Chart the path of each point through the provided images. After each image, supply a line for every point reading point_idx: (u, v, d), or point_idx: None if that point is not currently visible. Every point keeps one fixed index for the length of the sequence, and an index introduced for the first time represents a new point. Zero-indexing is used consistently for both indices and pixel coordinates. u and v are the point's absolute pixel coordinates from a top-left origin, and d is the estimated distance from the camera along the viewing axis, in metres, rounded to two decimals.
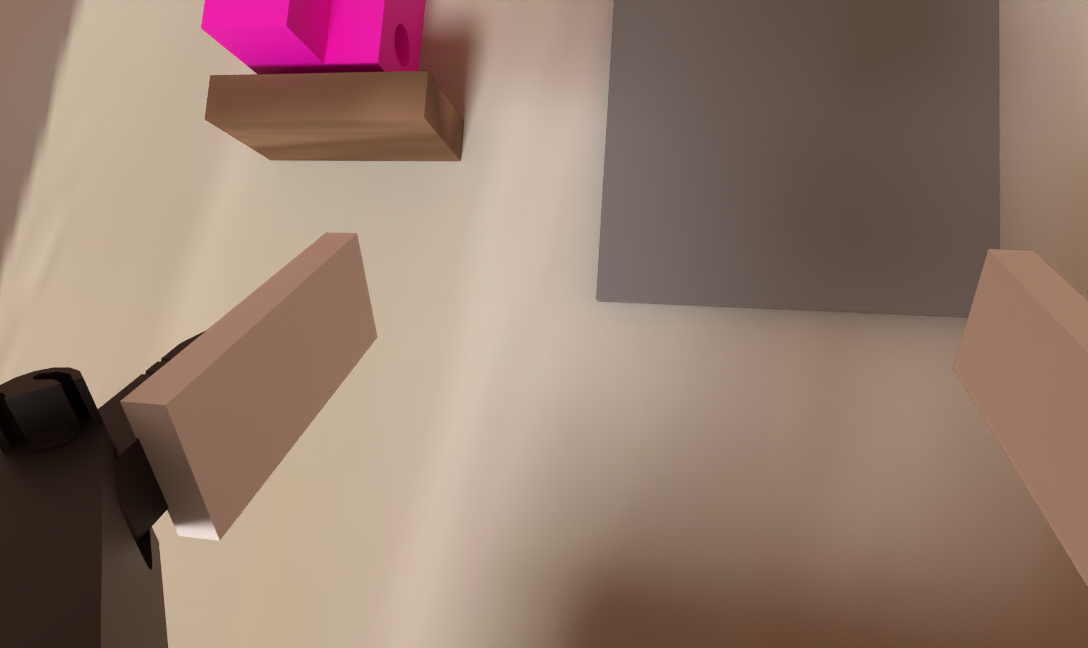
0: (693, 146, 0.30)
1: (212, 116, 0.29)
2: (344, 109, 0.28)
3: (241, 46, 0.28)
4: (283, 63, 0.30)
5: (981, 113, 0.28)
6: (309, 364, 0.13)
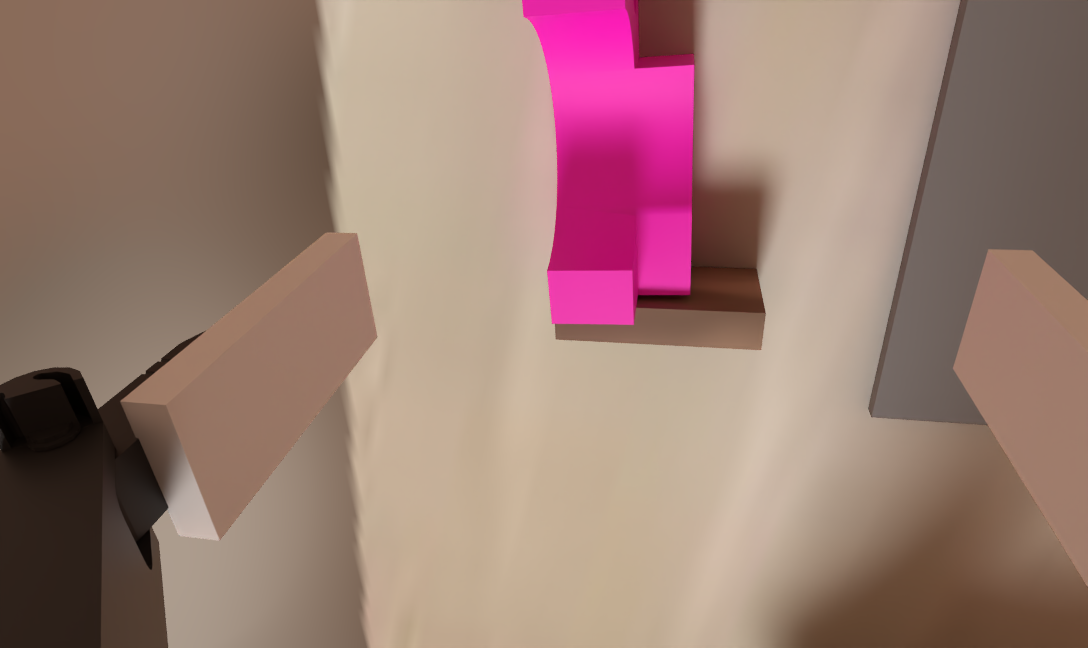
0: None
1: (562, 336, 0.34)
2: (686, 339, 0.33)
3: None
4: None
5: None
6: (309, 364, 0.13)
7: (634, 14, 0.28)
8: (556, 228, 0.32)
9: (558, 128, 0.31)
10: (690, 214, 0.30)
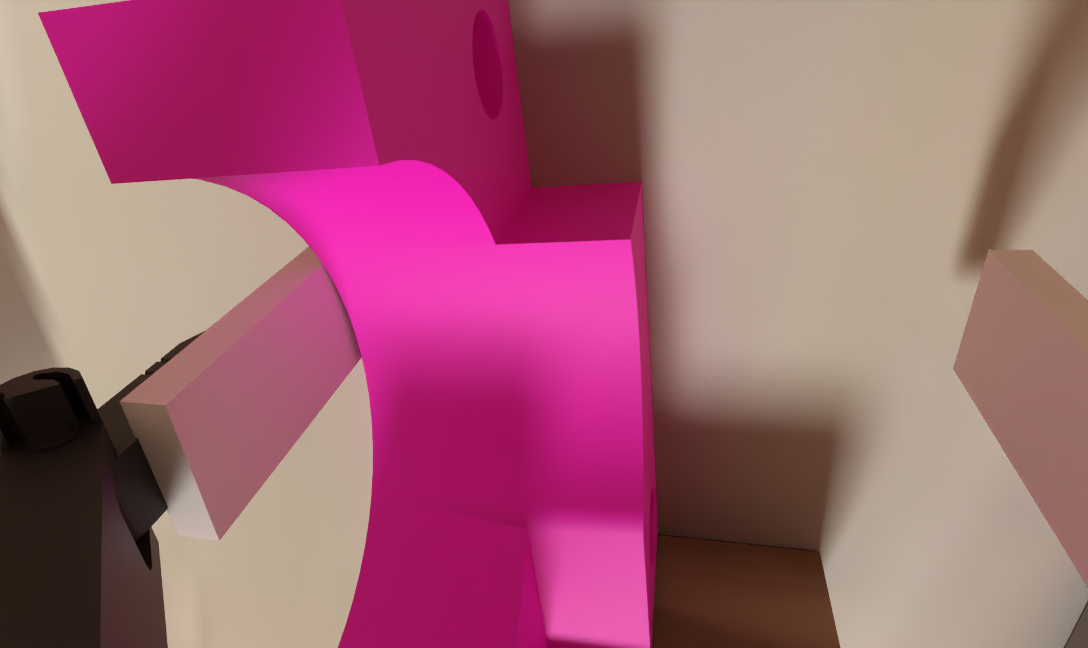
0: None
1: None
2: None
3: None
4: None
5: None
6: (309, 364, 0.13)
7: (488, 122, 0.12)
8: (367, 547, 0.15)
9: (363, 344, 0.15)
10: (640, 534, 0.14)
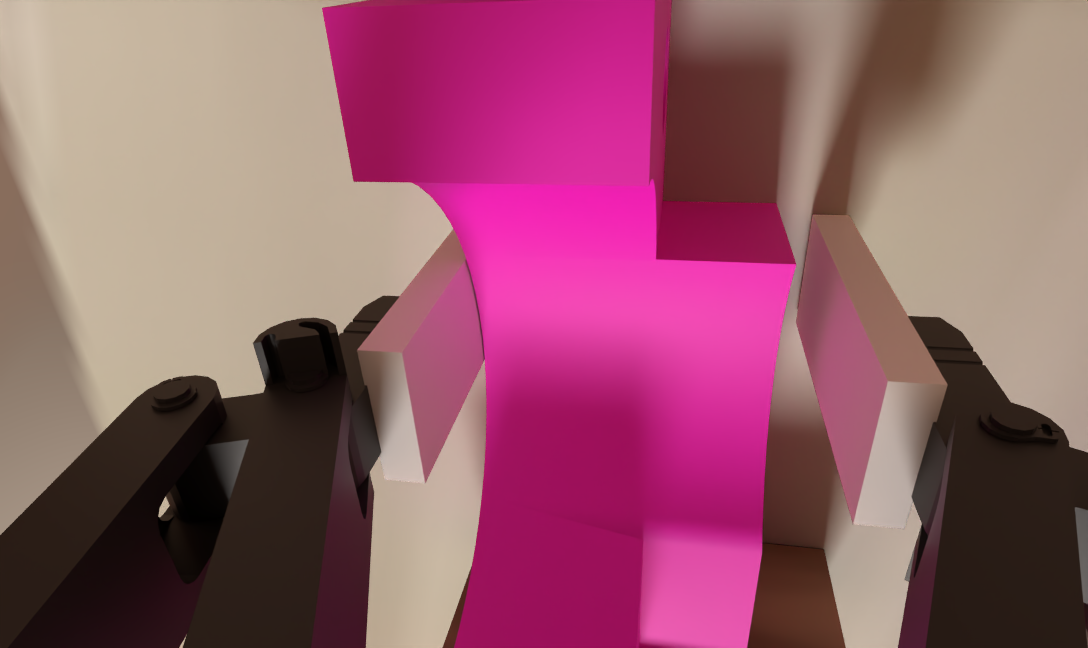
0: None
1: None
2: None
3: None
4: None
5: None
6: (473, 328, 0.14)
7: (662, 138, 0.12)
8: (477, 549, 0.15)
9: (489, 346, 0.15)
10: (759, 552, 0.14)
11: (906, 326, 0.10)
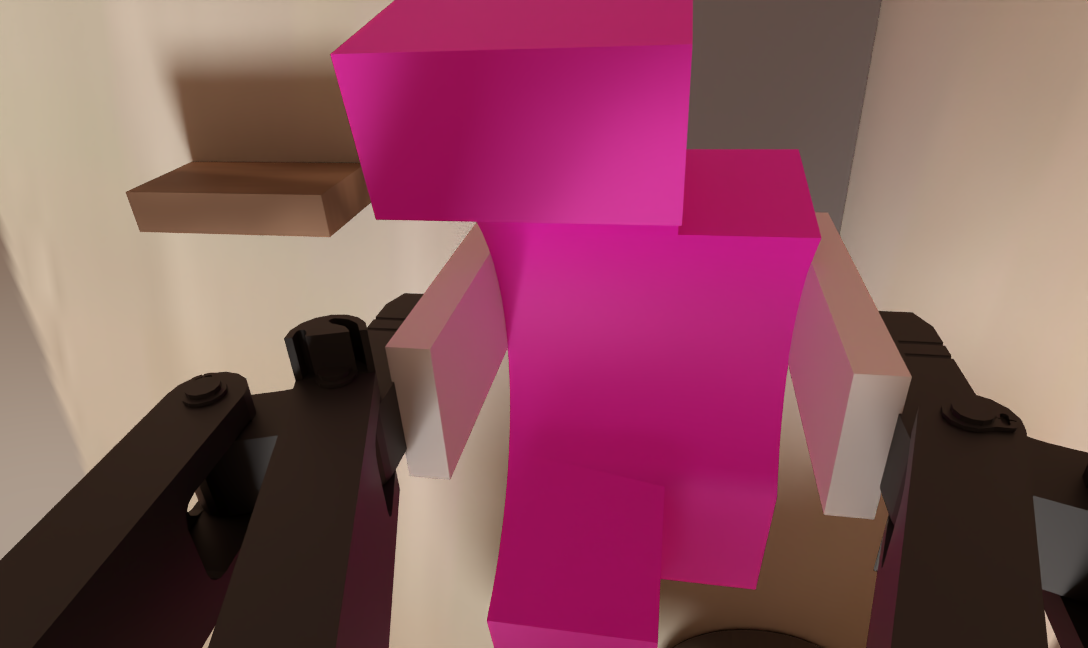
0: None
1: (145, 228, 0.33)
2: (258, 227, 0.31)
3: None
4: None
5: (834, 174, 0.30)
6: (493, 326, 0.14)
7: None
8: (508, 498, 0.16)
9: (509, 311, 0.15)
10: (774, 496, 0.15)
11: (875, 320, 0.11)
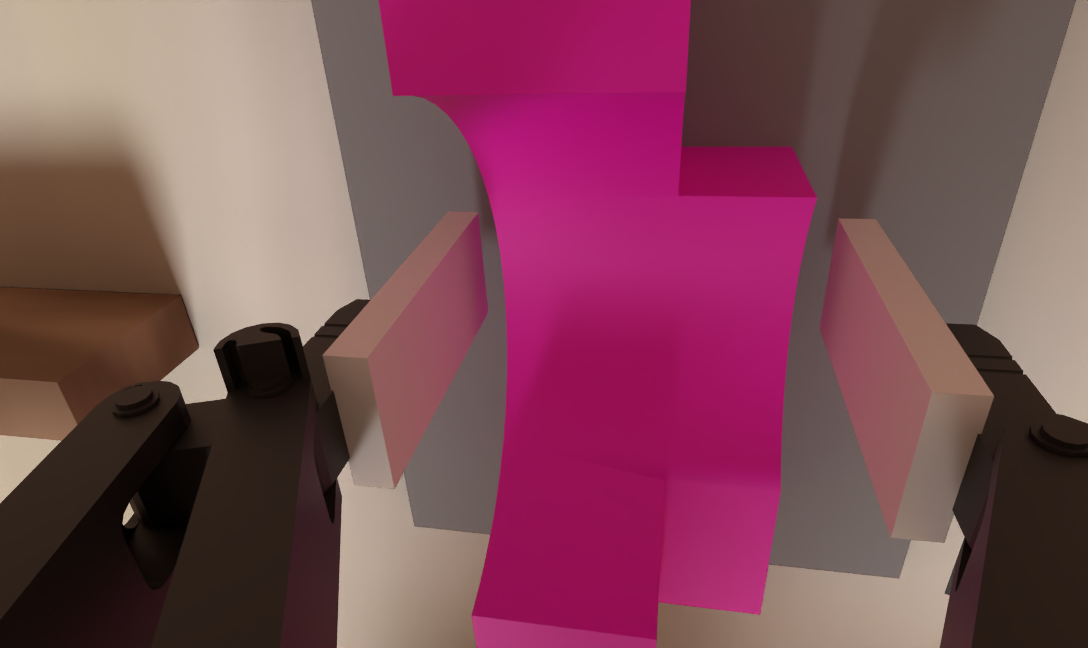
0: (505, 370, 0.20)
1: None
2: None
3: None
4: None
5: None
6: (448, 332, 0.14)
7: None
8: (500, 492, 0.15)
9: (510, 291, 0.15)
10: (778, 490, 0.15)
11: (945, 334, 0.10)
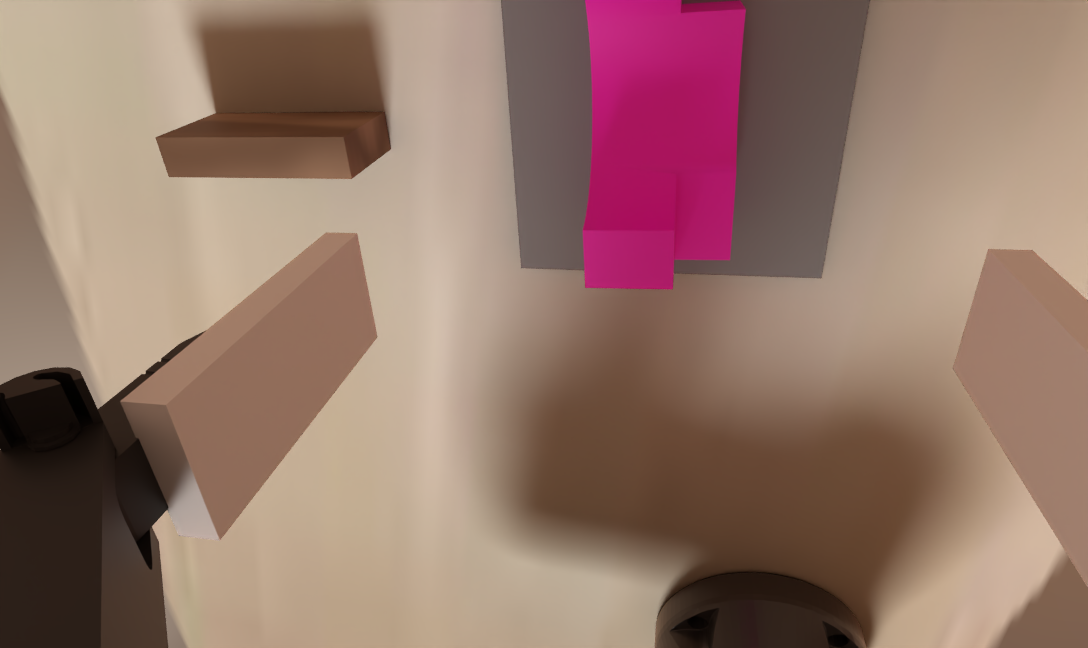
0: (587, 145, 0.34)
1: (174, 173, 0.34)
2: (282, 170, 0.33)
3: None
4: None
5: (834, 115, 0.31)
6: (309, 364, 0.13)
7: None
8: (590, 186, 0.30)
9: (594, 79, 0.29)
10: (734, 172, 0.29)
11: None
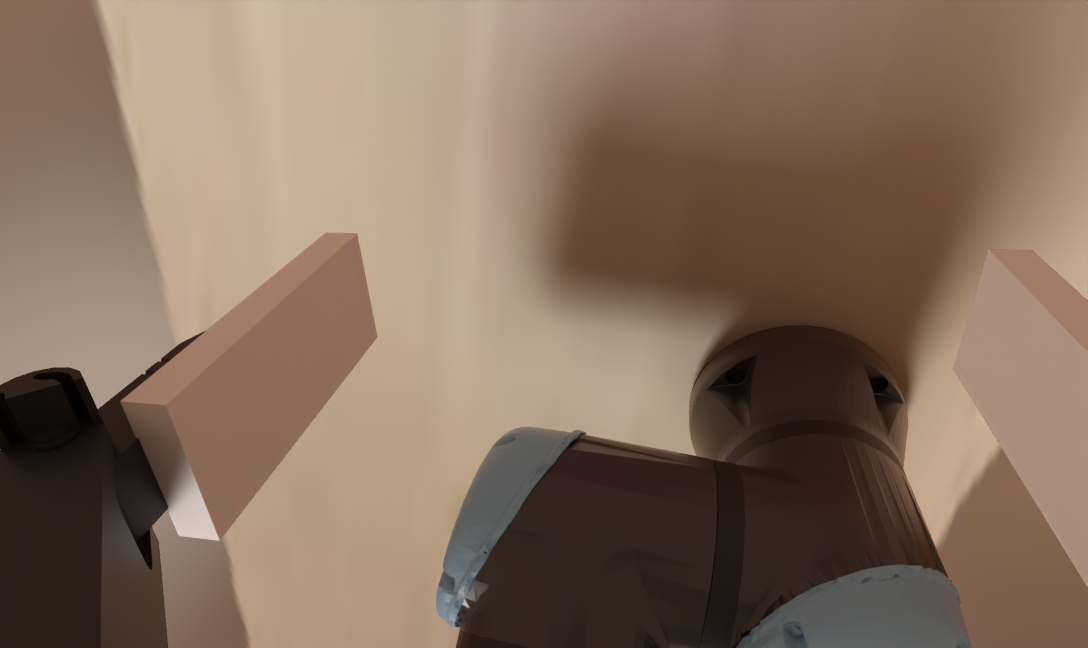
0: None
1: None
2: None
3: None
4: None
5: None
6: (309, 364, 0.13)
7: None
8: None
9: None
10: None
11: None
